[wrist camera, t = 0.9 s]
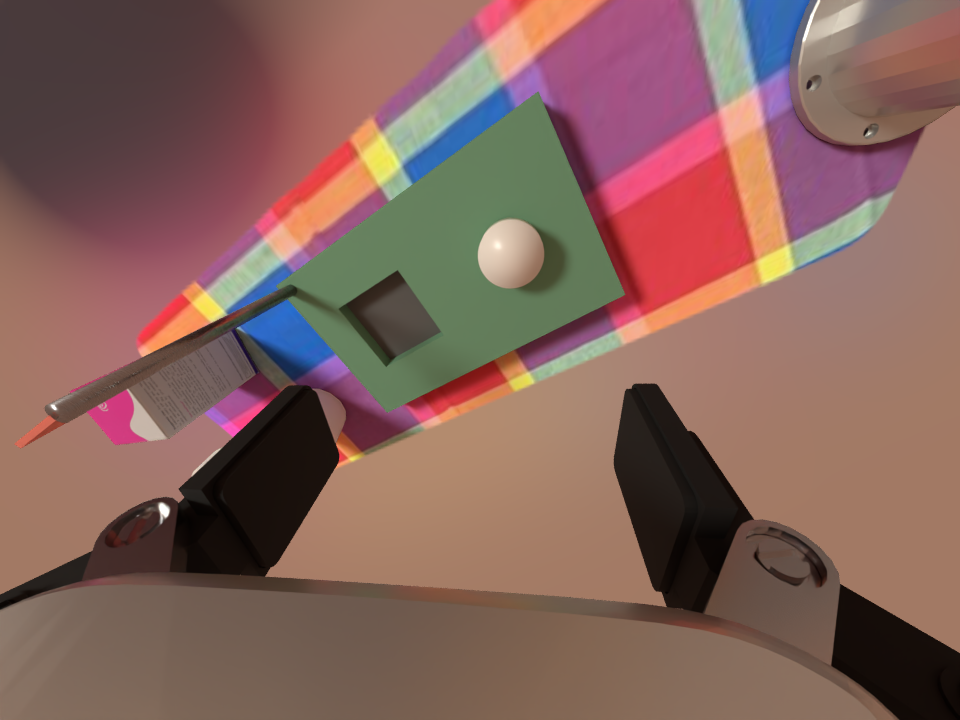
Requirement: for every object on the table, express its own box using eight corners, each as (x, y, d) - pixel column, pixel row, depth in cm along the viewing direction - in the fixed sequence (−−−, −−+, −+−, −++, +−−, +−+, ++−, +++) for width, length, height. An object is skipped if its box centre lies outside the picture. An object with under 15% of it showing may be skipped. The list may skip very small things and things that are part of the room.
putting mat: (535, 98, 25) (609, -110, 7) (616, 286, 31) (771, 444, 13) (271, 293, 33) (-6, 431, 15) (374, 409, 39) (261, 604, 21)
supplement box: (233, 324, 35) (124, 383, 25) (261, 372, 38) (172, 443, 28) (186, 332, 36) (63, 393, 26) (217, 379, 39) (116, 449, 29)
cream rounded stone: (523, 204, 26) (524, 206, 24) (552, 261, 27) (555, 267, 26) (468, 239, 27) (465, 244, 25) (499, 291, 29) (498, 299, 27)
